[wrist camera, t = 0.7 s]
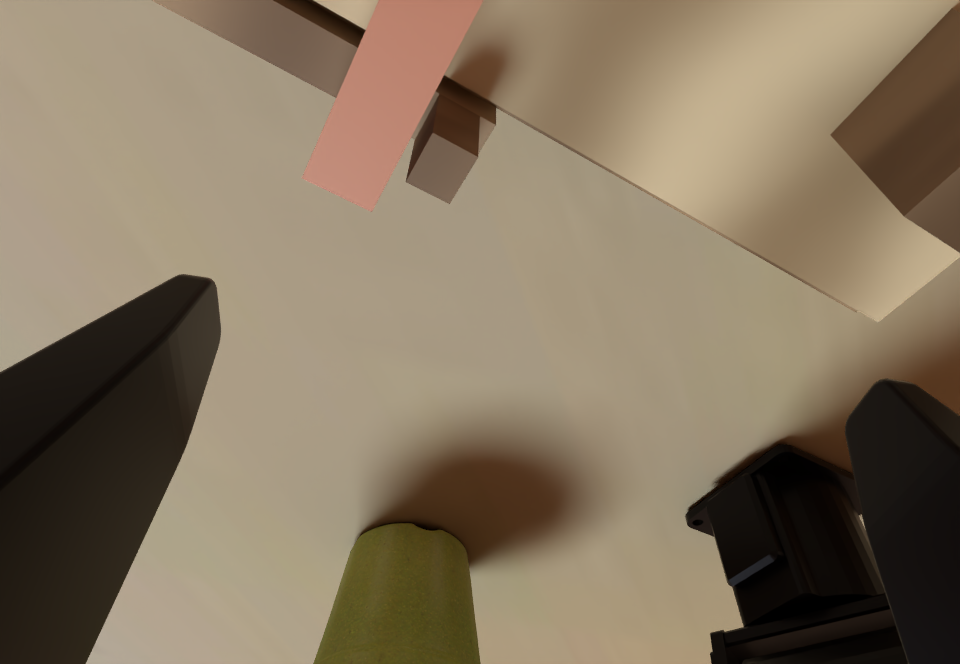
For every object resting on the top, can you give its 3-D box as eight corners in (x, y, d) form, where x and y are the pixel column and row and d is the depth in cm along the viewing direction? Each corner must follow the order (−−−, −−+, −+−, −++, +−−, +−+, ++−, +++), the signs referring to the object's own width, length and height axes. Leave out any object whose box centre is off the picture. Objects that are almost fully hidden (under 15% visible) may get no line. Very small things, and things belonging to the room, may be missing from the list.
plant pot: (445, 479, 31) (432, 672, 24) (529, 575, 36) (536, 755, 30) (284, 528, 34) (233, 713, 27) (384, 611, 39) (361, 782, 33)
